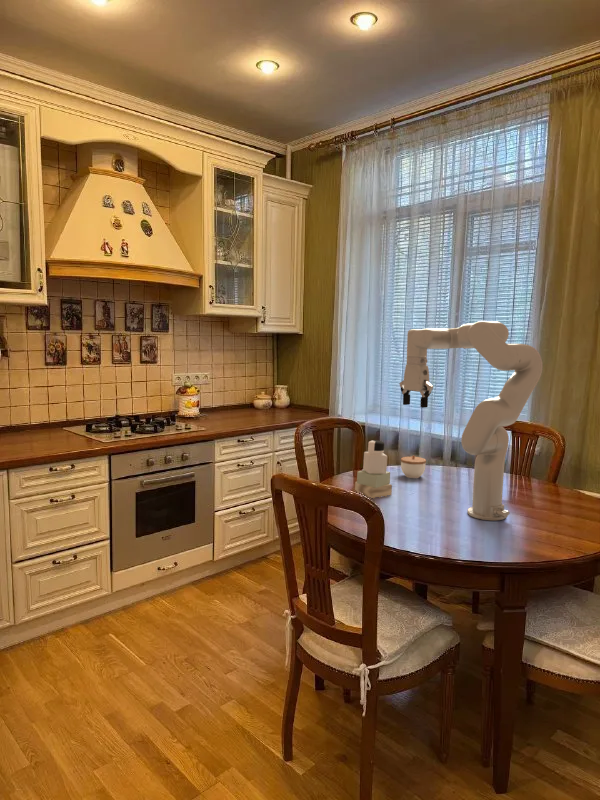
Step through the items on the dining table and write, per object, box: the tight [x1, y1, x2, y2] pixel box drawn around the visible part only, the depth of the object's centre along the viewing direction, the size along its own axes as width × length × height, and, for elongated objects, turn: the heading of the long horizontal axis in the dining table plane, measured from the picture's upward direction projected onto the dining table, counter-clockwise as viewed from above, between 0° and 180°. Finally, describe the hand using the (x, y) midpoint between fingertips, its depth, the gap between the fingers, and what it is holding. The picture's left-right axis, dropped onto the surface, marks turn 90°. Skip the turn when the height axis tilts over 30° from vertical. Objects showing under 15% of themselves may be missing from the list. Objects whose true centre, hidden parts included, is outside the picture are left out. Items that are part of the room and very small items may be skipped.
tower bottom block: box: [354, 481, 393, 500], centre depth 215 cm, size 10×10×4 cm
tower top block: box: [356, 470, 391, 488], centre depth 214 cm, size 9×9×4 cm
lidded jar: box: [400, 455, 427, 479], centre depth 242 cm, size 11×11×9 cm
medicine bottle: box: [362, 439, 388, 474], centre depth 213 cm, size 7×7×12 cm
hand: (415, 406), depth 214 cm, fingers open, 9 cm apart
